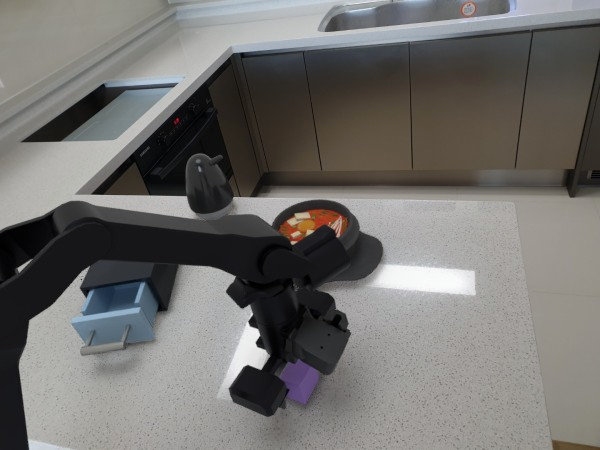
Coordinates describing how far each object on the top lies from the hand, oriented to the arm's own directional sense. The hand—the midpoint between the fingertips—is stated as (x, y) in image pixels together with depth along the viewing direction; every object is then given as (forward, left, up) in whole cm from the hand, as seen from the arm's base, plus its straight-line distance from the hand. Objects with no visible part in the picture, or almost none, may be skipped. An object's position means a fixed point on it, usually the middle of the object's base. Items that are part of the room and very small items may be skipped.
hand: (297, 381), depth 66 cm
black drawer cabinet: (-6, +39, -1) cm, 40 cm away
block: (0, 0, -1) cm, 1 cm away
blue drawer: (-13, +31, 0) cm, 34 cm away
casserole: (+21, +18, -1) cm, 28 cm away
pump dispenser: (+17, +48, -1) cm, 51 cm away
